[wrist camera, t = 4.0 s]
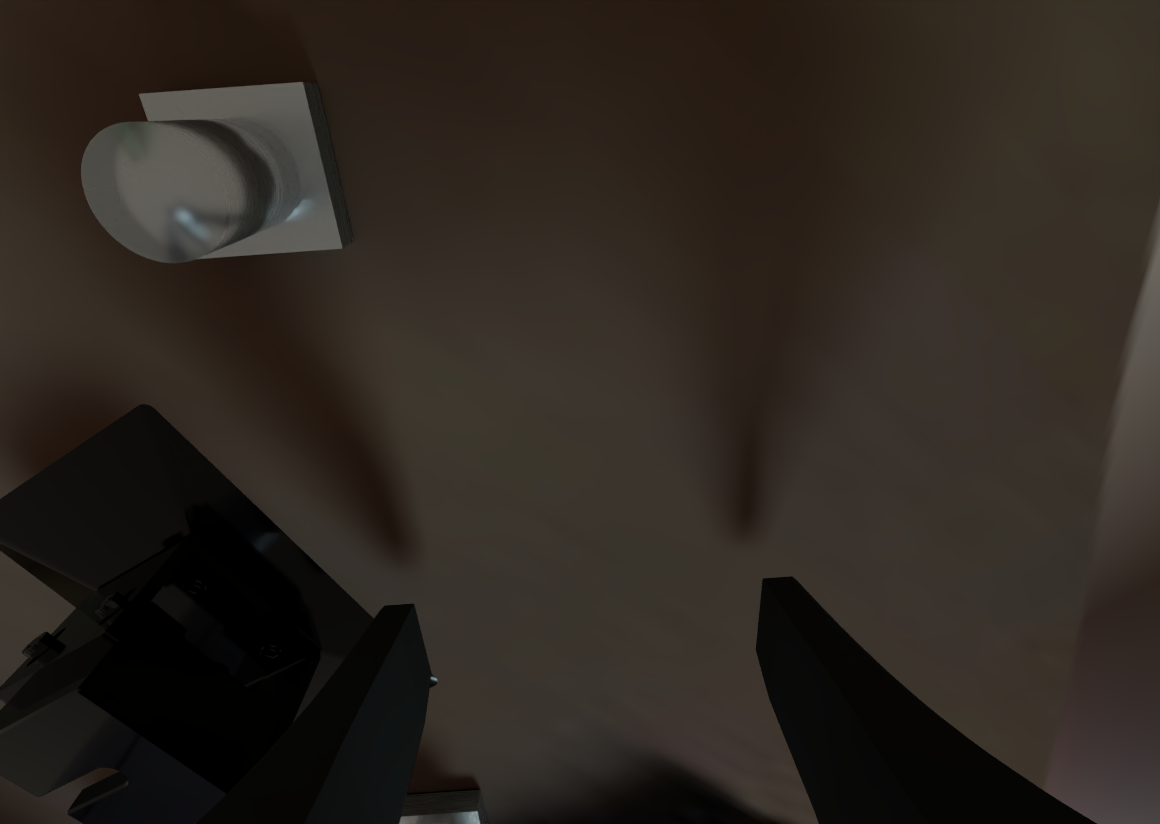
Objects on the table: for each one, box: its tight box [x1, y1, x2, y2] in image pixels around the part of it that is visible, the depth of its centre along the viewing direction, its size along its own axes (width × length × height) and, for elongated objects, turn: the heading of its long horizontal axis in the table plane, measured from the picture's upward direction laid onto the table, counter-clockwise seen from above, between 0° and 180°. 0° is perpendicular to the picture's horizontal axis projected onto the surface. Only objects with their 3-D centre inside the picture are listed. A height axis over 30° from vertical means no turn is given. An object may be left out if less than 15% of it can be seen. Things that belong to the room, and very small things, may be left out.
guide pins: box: [81, 82, 488, 824], centre depth 13 cm, size 20×10×3 cm, turn 4°
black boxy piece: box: [0, 404, 437, 824], centre depth 13 cm, size 12×7×5 cm, turn 31°
